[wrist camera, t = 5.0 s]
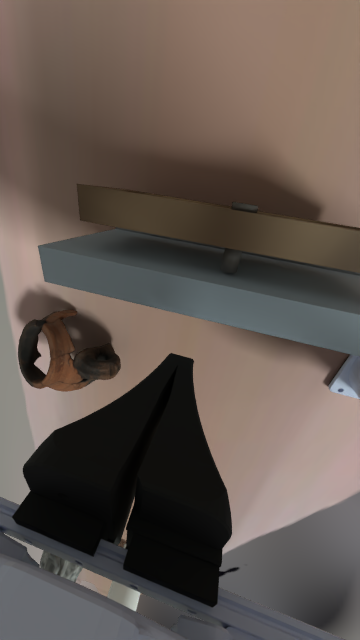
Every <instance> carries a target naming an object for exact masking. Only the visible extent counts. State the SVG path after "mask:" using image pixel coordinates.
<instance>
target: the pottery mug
mask: <svg viewBox="0 0 360 640" xmlns="http://www.w3.org/2000/svg"><path fill="white" fill-rule="evenodd" d="M76 314H77V312H76V311H74V310H63V311H58V312H53V313H52V314H50V315H48V316H46V317H45V318H43V319H42V320H32V321H30V322H29V323H28V324H27V325H26V326H25V327H24V329H23V331H22V335H21V337H20V340H19V346H18V359H19V365H20V369H21V372H22V374H23V376H24V378H25V379H26V381H27V382H28V383H29V384H30V385H31V386H32V387H35V388H39V389H41V388H44V387H49V388H52V389H54V390H58V391H73V390H78V389H81V388H83V387H85V386H87V385H88V384H90V383H91V382H93V381H95V380H98V379H102V380H108V379H111V378H113V377H115V376H116V375H117V373H118V371H119V370H120V368H121V364H120V358H119V356H118V355H117V354H115V351H114V349H113V347H112V345H111V344H110V343H108V344H106V345H104V346H101V347H94V348H87V349H84V350H83V351H81V352H79V353H78V354H76V356H75V357H74V360H73V359H72V358H71V356H70V353H72V352H73V351H75V348H74V346H73V343H72V341H71V337H70V335H69V334H68V333H67V331H66V328H65V325H64V323H63V322H62V321H61V320H62V319H64V318H66V317H69V316H74V315H76ZM41 330H42V331H43V332H44V334H45V336H46V338H47V339H48V344H49V348H50V357H51V360H50V366H49V370H48V373H47V375H45V374H44V373H43V372H42V371H41V370H40V369H39V368H38V367H36V366H35V365H34V362H35V361H36V360H37V358H39V357H41V354H40V353H39V352H38V349H37V344H38V334H39V333H40V332H41Z"/></svg>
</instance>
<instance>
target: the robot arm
mask: <svg viewBox="0 0 360 640" xmlns="http://www.w3.org/2000/svg"><path fill="white" fill-rule="evenodd" d="M193 363H194V361H193V359H191V358H187V357H183V356H180V355H176V354H173V353H171V354H169V355H168V356H167V357H166V359H165V360H164V361H163V362H162V363H161V364H160V365H159V366H158V367H157V368H156V369H155V370H154V371H153V372H152V373H151V374H150V375H149V376H147V377H146V378H145V379H144V380H143V381H141V382H140V383H139V384H138V385H137V386H135V387H134V388H133V389H131V390H130V391H129V392H127V393H126V394H124V395H123V396H121V397H120V398H118V399H117V400H115V401H113V402H112V403H110V404H108V405H107V406H105V407H103V408H101V409H100V410H98V411H96V412H94V413H92V414H90V415H88V416H86V417H84V418H82V419H80V420H78V421H75V422H73V423H71V424H68V425H66V426H64V427H62V428H59V429H57V430H55V431H54V432H53V433H52V434H51V435H50V436H49V437H48V438H47V439H46V440H45V441H44V442H43V443H42V444H41V445H40V446H39V447H38V449H37V450H36V451H35V452H34V453H33V455H32V456H31V457H30V458H29V460H28V461H27V462H26V463H25V464H24V467H23V474H24V477H25V479H26V481H27V484H28V486H29V488H30V490H31V491H30V492H29V494H28V495H27V497H26V498H25V500H24V501H23V502H22V504H21V505H18V504H16V503H14V502H11V501H8V500H6V499H4V498H1V497H0V640H345V639H343V638H340V637H338V636H335V635H333V634H331V633H328V632H326V631H323V630H321V629H318V628H316V627H314V626H311V625H309V624H306V623H304V622H302V621H299V620H297V619H294V618H292V617H289V616H287V615H285V614H282V613H280V612H277V611H275V610H273V609H270V608H268V607H265V606H263V605H260V604H258V603H255V602H253V601H251V600H248V599H246V598H243V597H241V596H238V595H236V594H234V593H231V592H229V591H227V590H224V589H221V588H219V587H218V583H219V567H221V563H222V548H223V547H224V546H225V544H226V543H227V542H228V541H229V539H230V538H231V535H232V522H231V511H230V505H229V499H228V494H227V489H226V487H225V485H224V483H223V481H222V479H221V476H220V474H219V472H218V470H217V467H216V465H215V462H214V460H213V457H212V455H211V452H210V449H209V447H208V444H207V441H206V438H205V435H204V432H203V429H202V425H201V422H200V418H199V414H198V410H197V405H196V399H195V393H194V385H193ZM328 387H329V389H330V391H332V392H335V393H338V394H342V395H346V396H350V397H354V398H358V399H360V357H359V356H355V355H351V354H350V356H349V357H348V359H347V360H346V361H345V363H344V364H343V366H342V367H341V369H340V370H339V371H338V373H337V374H336V376H335V377H334V379H333V380H332V381H331V383H330V384H329V386H328ZM340 388H341V389H340ZM134 497H135V502H134V506H133V509H132V512H131V515H130V518H129V521H128V523H127V527H126V530H127V542H126V548H122V547H120V546H118V544H119V543H120V541H121V538H122V535H123V531H124V528H125V525H126V522H127V519H128V516H129V512H130V509H131V506H132V503H133V500H134ZM4 533H5V534H8V535H10V536H12V537H14V538H17V539H19V540H21V541H23V542H26V543H28V544H30V545H33V546H35V547H37V548H40V549H42V550H44V551H46V552H49V553H51V554H53V555H55V556H58V557H60V558H62V559H65V560H67V561H69V562H71V563H74V564H76V565H78V566H81V567H83V568H85V569H87V570H90V571H92V572H94V573H97V574H99V575H101V576H103V577H106V578H108V579H110V580H113V581H115V582H117V583H119V584H122V585H124V586H126V587H129V588H131V589H133V590H135V591H138V592H140V593H142V594H145V595H147V596H149V597H151V598H154V599H156V600H158V601H161V602H163V603H165V604H167V605H170V606H172V607H174V608H177V609H179V610H181V611H184V612H186V613H188V614H190V615H193V616H195V617H197V618H200V619H202V620H199V619H196V618H192V617H189V616H185V615H180V616H179V617H178V622H177V624H173V625H172V627H171V630H170V629H168V628H166V627H164V626H162V625H160V624H159V623H157V622H155V621H153V620H151V619H149V618H147V617H145V616H143V615H141V614H140V613H138V612H136V611H134V610H132V609H130V608H128V607H126V606H124V605H122V604H120V603H118V602H116V601H114V600H112V599H110V598H108V597H105V596H103V595H101V594H99V593H97V592H95V591H93V590H91V589H88V588H86V587H84V586H82V585H80V584H77V583H75V582H73V581H71V580H68V579H66V578H64V577H61V576H59V575H56V574H54V573H52V572H49V571H47V570H44V569H42V568H39V564H38V563H37V562H36V561H35V560H33V559H32V558H31V557H30V555H29V554H28V552H27V548H26V547H25V546H23V545H22V544H20V543H18V542H17V541H15V540H13V539H11V538H10V537H8V536H6V535H5V534H4ZM203 620H204V621H203Z"/></svg>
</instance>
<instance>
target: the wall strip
mask: <svg viewBox="0 0 360 640" xmlns="http://www.w3.org/2000/svg"><path fill="white" fill-rule="evenodd" d="M38 249H39V254H40V259H41V264H42V270H43V275H44V280H45V282H49V283H53V284H57V285H62V286H66V287H70V288H74V289H78V290H83V291H87V292H91V293H95V294H99V295H104V296H108V297H112V298H116V299H120V300H124V301H129V302H133V303H137V304H141V305H145V306H150V307H154V308H158V309H162V310H166V311H171V312H175V313H179V314H183V315H187V316H192V317H196V318H200V319H204V320H208V321H213V322H217V323H221V324H225V325H229V326H234V327H238V328H242V329H246V330H250V331H255V332H259V333H263V334H267V335H271V336H275V337H280V338H284V339H288V340H292V341H296V342H301V343H305V344H309V345H313V346H317V347H322V348H326V349H330V350H334V351H338V352H343V353H347V354H351V355H355V356H359V357H360V273H357V272H351V271H346V270H341V269H335V268H330V267H325V266H319V265H314V264H309V263H304V262H298V261H293V260H288V259H282V258H277V257H272V256H266V255H261V254H256V253H251V252H245V251H242V255H241V258H240V262H239V265H238V269H237V272H236V273H227V272H224V271H222V270H220V267H221V263H222V259H223V255H224V250H225V248H224V247H219V246H214V245H208V244H203V243H198V242H192V241H187V240H182V239H176V238H171V237H166V236H161V235H155V234H150V233H145V232H139V231H134V230H129V229H123V228H118V227H116V229H113V230H108V231H104V232H99V233H94V234H90V235H85V236H81V237H76V238H71V239H67V240H62V241H58V242H53V243H48V244H44V245H39V246H38Z"/></svg>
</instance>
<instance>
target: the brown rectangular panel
mask: <svg viewBox="0 0 360 640" xmlns="http://www.w3.org/2000/svg"><path fill="white" fill-rule="evenodd" d="M77 191H78V202H79V213H80V220H81V221H86V222H92V223H97V224H102V225H108V226H113V227H118V228H123V229H129V230H134V231H139V232H145V233H150V234H155V235H161V236H166V237H171V238H176V239H182V240H187V241H192V242H198V243H203V244H208V245H214V246H219V247H224V248H225V250H224V255H223V259H222V263H221V267H220V270H222V271H224V272H227V273H236V272H237V269H238V265H239V262H240V258H241V255H242V251H245V252H251V253H256V254H261V255H266V256H272V257H277V258H282V259H288V260H293V261H298V262H304V263H309V264H314V265H319V266H325V267H330V268H335V269H341V270H346V271H351V272H357V273H360V228H356V227H350V226H344V225H338V224H332V223H326V222H320V221H314V220H308V219H302V218H296V217H290V216H284V215H278V214H272V213H266V212H260V211H257V210H258V207H259V206H255V205H249V204H243V203H236V202H233V203H232V207H229V206H223V205H217V204H211V203H205V202H199V201H193V200H187V199H181V198H175V197H169V196H163V195H157V194H151V193H145V192H139V191H133V190H126V189H117V188H108V187H99V186H91V185H82V184H77Z"/></svg>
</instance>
